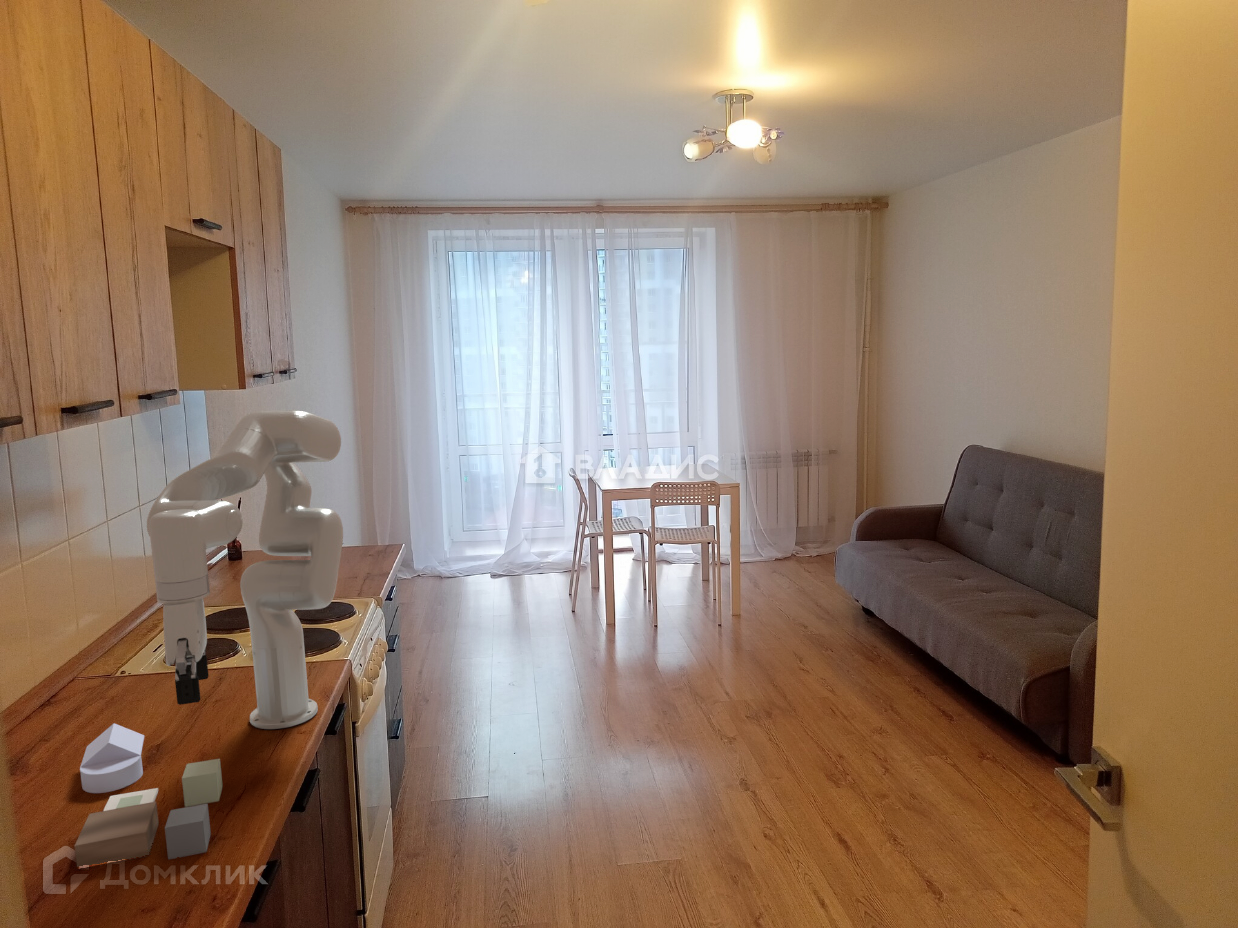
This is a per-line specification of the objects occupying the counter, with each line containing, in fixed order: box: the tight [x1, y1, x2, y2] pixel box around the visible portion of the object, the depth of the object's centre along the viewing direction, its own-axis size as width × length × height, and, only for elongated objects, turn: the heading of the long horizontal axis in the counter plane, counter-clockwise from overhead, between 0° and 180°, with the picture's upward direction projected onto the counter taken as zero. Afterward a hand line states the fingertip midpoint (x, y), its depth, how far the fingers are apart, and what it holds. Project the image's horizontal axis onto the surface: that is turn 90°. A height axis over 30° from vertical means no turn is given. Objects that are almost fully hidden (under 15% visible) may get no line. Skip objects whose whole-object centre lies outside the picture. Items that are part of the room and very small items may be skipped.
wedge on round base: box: [79, 723, 145, 794], centre depth 148 cm, size 9×7×13 cm
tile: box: [103, 787, 159, 811], centre depth 138 cm, size 7×7×1 cm
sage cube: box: [181, 758, 223, 808], centre depth 140 cm, size 5×5×5 cm
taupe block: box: [74, 801, 159, 867], centre depth 127 cm, size 9×9×4 cm
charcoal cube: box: [164, 803, 212, 860], centre depth 126 cm, size 5×5×5 cm
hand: (193, 690), depth 138 cm, fingers open, 9 cm apart
